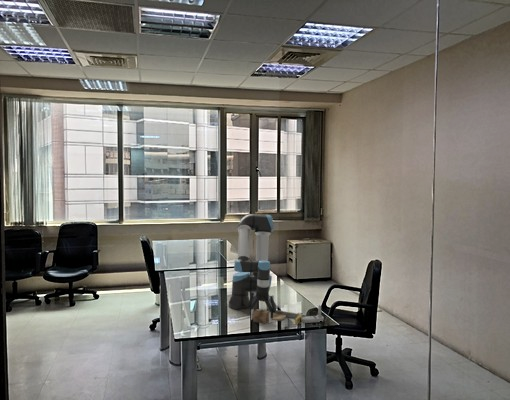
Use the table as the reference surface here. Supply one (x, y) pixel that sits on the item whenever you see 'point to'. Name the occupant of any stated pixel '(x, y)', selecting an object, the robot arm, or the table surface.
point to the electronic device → (313, 317)
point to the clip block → (261, 316)
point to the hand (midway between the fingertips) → (261, 321)
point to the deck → (278, 317)
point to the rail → (290, 315)
